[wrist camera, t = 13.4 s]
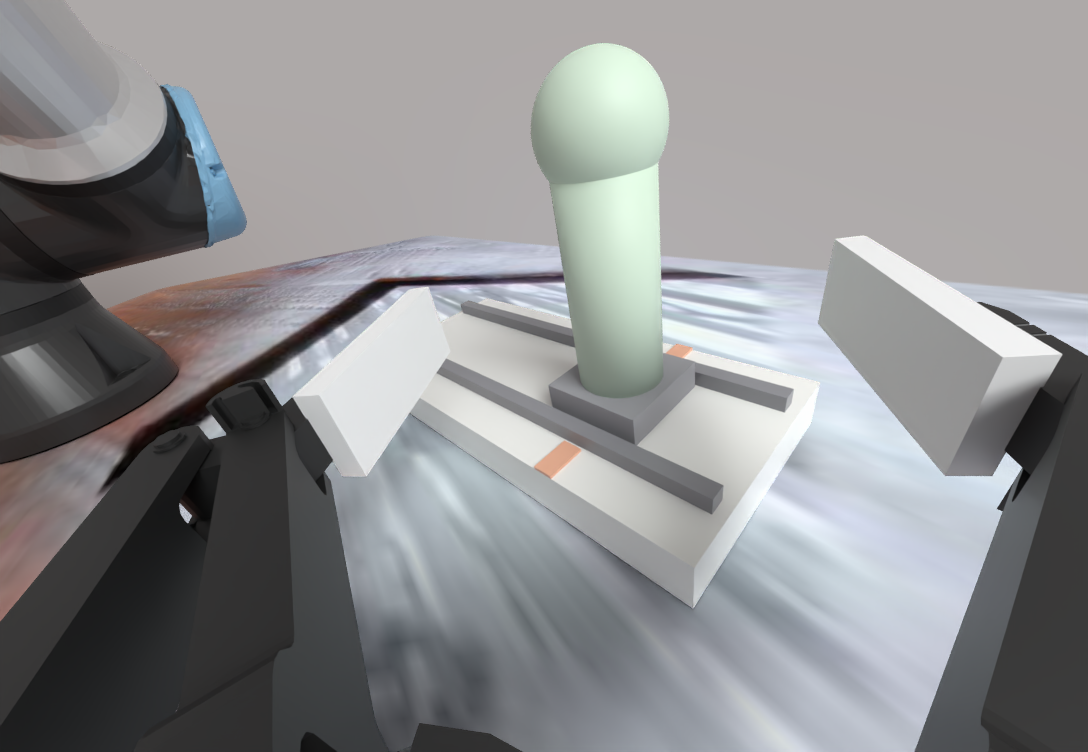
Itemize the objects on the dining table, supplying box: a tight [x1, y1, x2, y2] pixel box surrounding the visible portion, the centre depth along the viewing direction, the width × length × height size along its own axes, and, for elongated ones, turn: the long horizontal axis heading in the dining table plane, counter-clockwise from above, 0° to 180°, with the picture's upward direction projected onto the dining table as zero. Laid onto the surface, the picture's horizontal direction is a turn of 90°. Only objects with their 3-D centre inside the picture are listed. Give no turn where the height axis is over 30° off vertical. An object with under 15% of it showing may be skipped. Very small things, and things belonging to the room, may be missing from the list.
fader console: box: [410, 298, 820, 608], centre depth 25 cm, size 26×12×3 cm, turn 46°
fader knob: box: [531, 43, 695, 445], centre depth 17 cm, size 5×5×14 cm
